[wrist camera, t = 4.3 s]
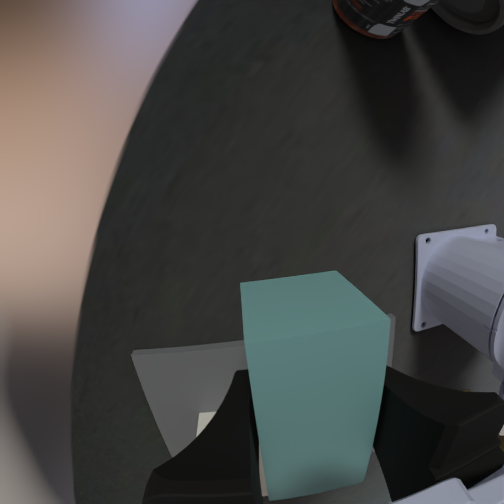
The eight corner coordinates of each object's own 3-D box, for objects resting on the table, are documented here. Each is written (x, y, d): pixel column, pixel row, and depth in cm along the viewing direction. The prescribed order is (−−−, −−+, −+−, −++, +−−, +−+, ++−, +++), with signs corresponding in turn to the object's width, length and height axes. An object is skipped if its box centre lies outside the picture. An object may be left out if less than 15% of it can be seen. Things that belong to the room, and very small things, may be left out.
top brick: (335, 270, 13) (390, 318, 8) (334, 413, 14) (363, 481, 9) (240, 283, 12) (244, 343, 8) (259, 425, 14) (269, 501, 9)
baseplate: (391, 313, 22) (395, 317, 21) (374, 445, 25) (377, 450, 25) (133, 349, 21) (130, 355, 21) (184, 474, 25) (183, 479, 24)
